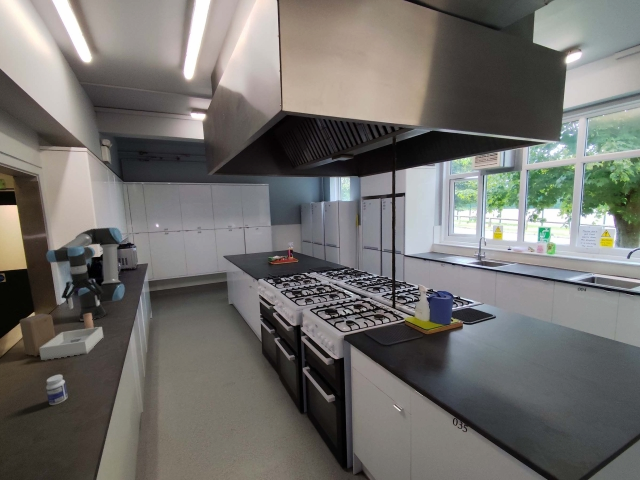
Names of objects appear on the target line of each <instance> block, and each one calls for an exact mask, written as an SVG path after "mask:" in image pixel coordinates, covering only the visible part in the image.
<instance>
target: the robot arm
mask: <svg viewBox="0 0 640 480" xmlns="http://www.w3.org/2000/svg"><path fill="white" fill-rule="evenodd" d="M122 235H123V234H122V233H121V231H120V229H119V228H118V227H101V228H100V227H99V228H91V229H86V230H84V231H82V232H80V233H79V234H77V235H76V236H75V238H74V239H72V240H71V241H69V242H67V243H66V244H64V245H62V246H61V247H60V248H57V249H51V250H48V251H47V252H46V260H47V261H48V263H62V262H63V263H65V262H68V263H69V268H70V274H71V276H70V277H71V280H72V281H70V280H69V281H67V282H65V288H64V290H63V292H62V295H61V298H62V299H65V301H66V305H68V310H72V309H73V308H74V303H73V297H71V296H73V293H75V291H76V290H77V289H78V291H77V293H78V301H79V306H80V312H79V315H78V320H79V319H84V318H83V315H84V314H87V313H92V319H94V318H99V317H102V316H104V315H105V314H106V310H105V309H104V307H103V305H102V303H106V302H107V303H110V302H116V301H120V300H122V299H123V298H124V294H125V292H126V291H125V290H126V289H125V285H124V283H122V281H120V280H119V266H118V262H119V261H118V248H119V246H120V244H121V243H122V242H123V236H122ZM91 245H99V247H100V248H102V265H103V266H102V267H103V281H102V282H101V286H100V285H99V284H98V283H97V282H96V278H92V279H89V272H88V267H87V261H88V260H90V259H91V258H94V256H95V255H96V251H95V249H94V248H93V247H91ZM71 286H73V287H72V288H71ZM70 288H71V290H70ZM69 290H70V291H69ZM105 316H106V315H105ZM105 316H104V317H105ZM102 318H103V317H102ZM99 319H100V318H99Z"/></svg>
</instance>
